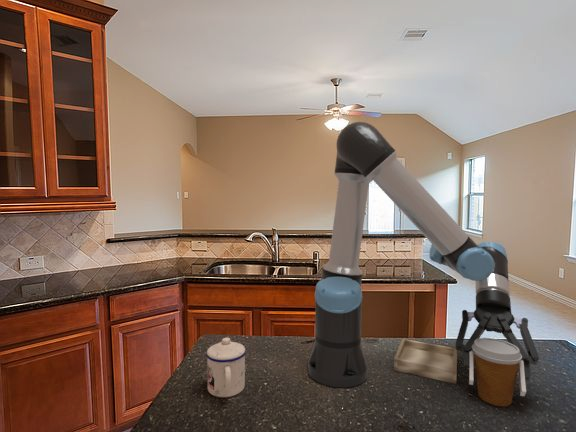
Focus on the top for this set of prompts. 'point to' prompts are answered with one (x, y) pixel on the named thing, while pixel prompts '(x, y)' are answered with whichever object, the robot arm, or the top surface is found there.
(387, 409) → the top surface
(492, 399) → the disposable coffee cup
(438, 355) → the birch tray
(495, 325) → the robot arm
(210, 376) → the teacup with lid
